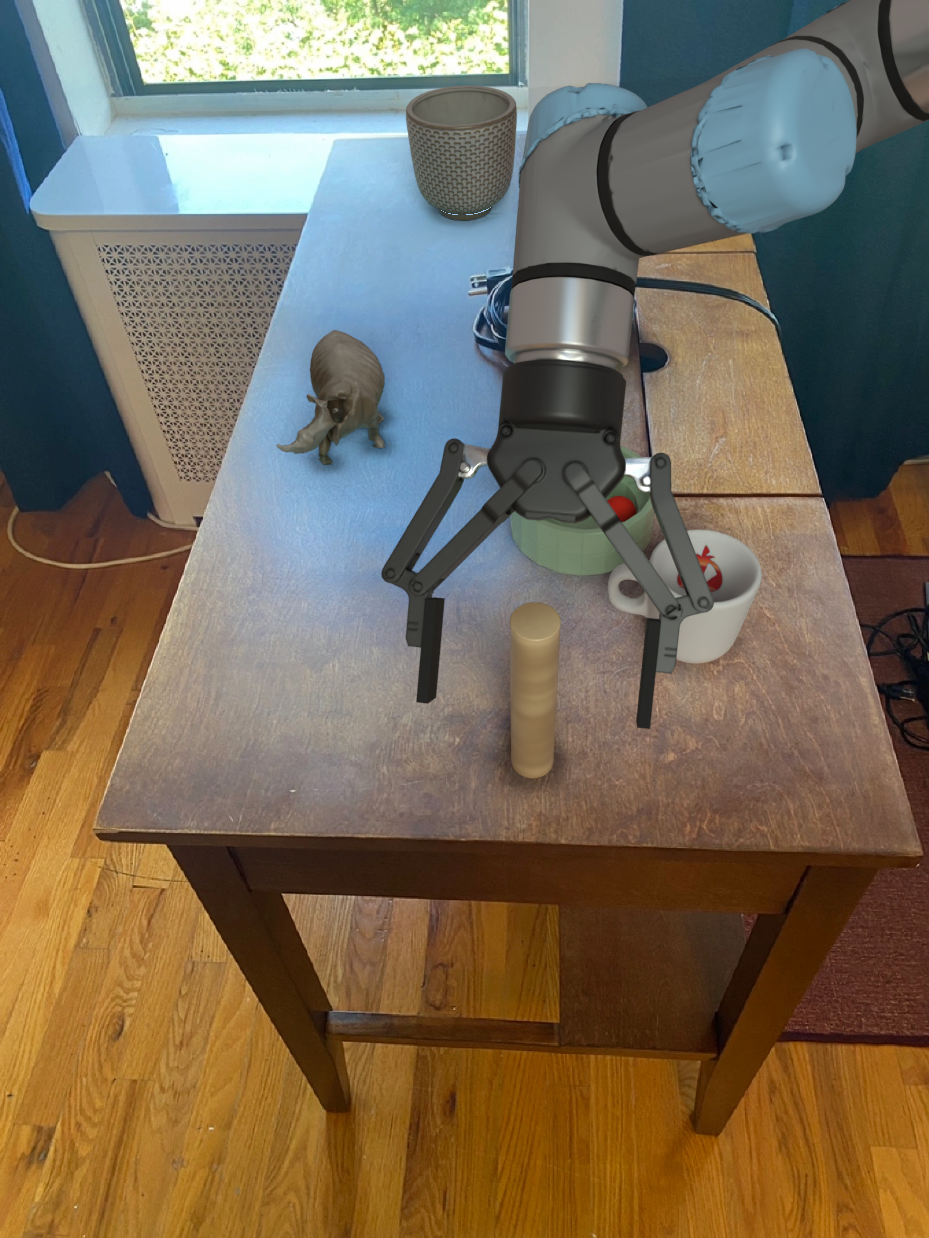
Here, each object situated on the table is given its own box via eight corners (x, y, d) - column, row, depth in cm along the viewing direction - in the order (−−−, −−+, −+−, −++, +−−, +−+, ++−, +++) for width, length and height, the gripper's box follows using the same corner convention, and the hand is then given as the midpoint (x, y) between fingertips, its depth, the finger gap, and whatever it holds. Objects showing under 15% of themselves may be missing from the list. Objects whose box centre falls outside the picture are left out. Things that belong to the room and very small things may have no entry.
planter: (413, 190, 128) (404, 88, 118) (512, 183, 128) (511, 81, 118) (414, 237, 119) (405, 131, 109) (522, 229, 119) (522, 122, 109)
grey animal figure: (408, 358, 95) (365, 293, 80) (403, 488, 94) (359, 445, 79) (336, 362, 97) (282, 298, 82) (330, 489, 95) (274, 448, 81)
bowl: (677, 556, 78) (686, 507, 74) (547, 599, 75) (548, 551, 71) (609, 472, 86) (614, 424, 82) (489, 509, 83) (487, 461, 79)
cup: (596, 662, 71) (603, 591, 65) (610, 588, 76) (618, 516, 70) (740, 685, 69) (760, 613, 63) (744, 607, 74) (764, 535, 68)
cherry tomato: (600, 507, 77) (620, 537, 77) (629, 487, 77) (648, 517, 77) (589, 510, 80) (608, 538, 80) (617, 490, 80) (635, 519, 80)
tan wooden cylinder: (560, 769, 64) (569, 630, 53) (521, 784, 64) (522, 646, 53) (542, 737, 66) (547, 596, 55) (504, 751, 66) (501, 611, 54)
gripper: (766, 392, 58) (730, 725, 59) (382, 370, 61) (356, 683, 63) (789, 366, 50) (746, 747, 52) (350, 343, 54) (322, 698, 55)
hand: (532, 712), depth 57 cm, fingers open, 13 cm apart
